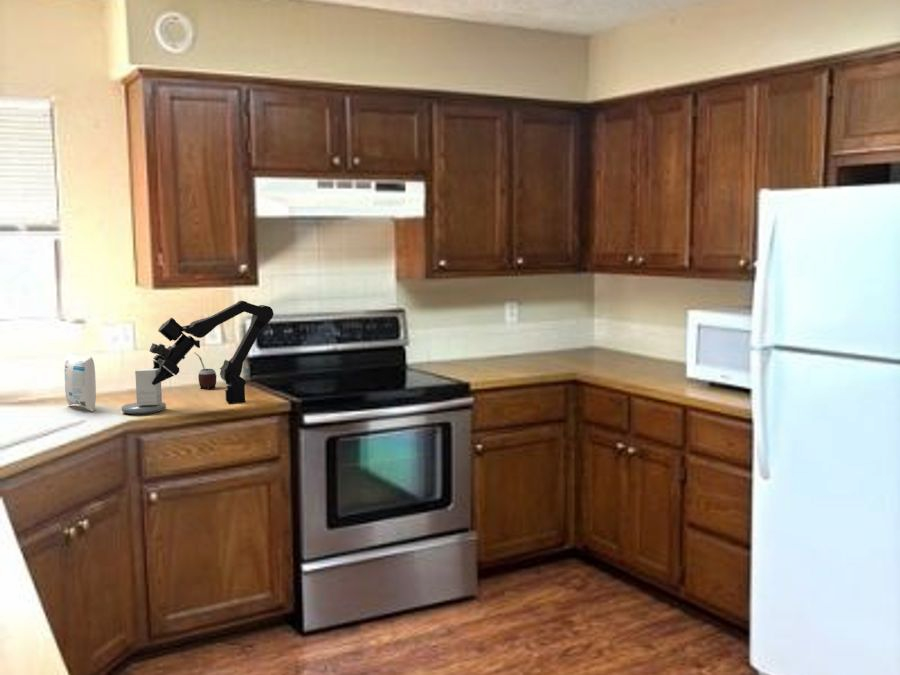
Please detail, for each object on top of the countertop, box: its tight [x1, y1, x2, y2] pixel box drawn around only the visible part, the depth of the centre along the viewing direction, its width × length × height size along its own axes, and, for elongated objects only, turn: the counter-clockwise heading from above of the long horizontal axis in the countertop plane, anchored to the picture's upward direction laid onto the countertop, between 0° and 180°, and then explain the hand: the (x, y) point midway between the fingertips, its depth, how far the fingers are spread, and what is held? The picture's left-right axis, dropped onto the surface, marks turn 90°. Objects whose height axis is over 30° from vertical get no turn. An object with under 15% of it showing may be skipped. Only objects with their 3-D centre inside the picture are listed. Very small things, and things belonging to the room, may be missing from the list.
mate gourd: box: [193, 352, 217, 391], centre depth 364 cm, size 8×8×15 cm
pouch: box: [64, 352, 97, 413], centre depth 326 cm, size 8×19×20 cm, turn 44°
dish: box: [121, 401, 167, 415], centre depth 320 cm, size 15×15×2 cm
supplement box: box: [134, 368, 163, 406], centre depth 320 cm, size 7×7×13 cm
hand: (150, 382), depth 320 cm, fingers open, 9 cm apart
